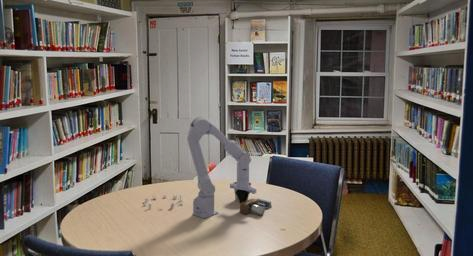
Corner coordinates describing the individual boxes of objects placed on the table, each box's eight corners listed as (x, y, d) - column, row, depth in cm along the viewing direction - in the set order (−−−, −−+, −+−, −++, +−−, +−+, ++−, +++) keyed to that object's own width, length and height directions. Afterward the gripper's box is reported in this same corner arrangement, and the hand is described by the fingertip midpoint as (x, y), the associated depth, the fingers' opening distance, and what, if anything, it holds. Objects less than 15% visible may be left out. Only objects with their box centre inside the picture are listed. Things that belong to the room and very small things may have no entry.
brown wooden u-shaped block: (245, 215, 197) (245, 204, 196) (239, 213, 199) (239, 203, 198) (258, 210, 204) (258, 199, 203) (252, 208, 206) (252, 198, 205)
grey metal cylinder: (264, 214, 198) (265, 206, 198) (258, 216, 195) (259, 207, 195) (247, 210, 204) (247, 201, 204) (241, 211, 201) (242, 202, 201)
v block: (262, 210, 203) (262, 205, 203) (249, 206, 208) (249, 201, 208) (271, 206, 208) (271, 201, 208) (258, 203, 213) (258, 198, 213)
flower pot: (251, 203, 213) (251, 186, 212) (232, 203, 213) (232, 186, 212) (251, 197, 222) (251, 181, 221) (232, 197, 223) (232, 181, 221)
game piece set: (188, 208, 208) (188, 200, 207) (146, 213, 200) (145, 205, 200) (178, 196, 226) (177, 189, 225) (139, 200, 218) (138, 193, 218)
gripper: (260, 178, 200) (260, 206, 202) (236, 173, 209) (236, 200, 211) (250, 181, 194) (250, 210, 196) (226, 175, 204) (226, 203, 206)
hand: (242, 205), depth 203 cm, fingers closed
